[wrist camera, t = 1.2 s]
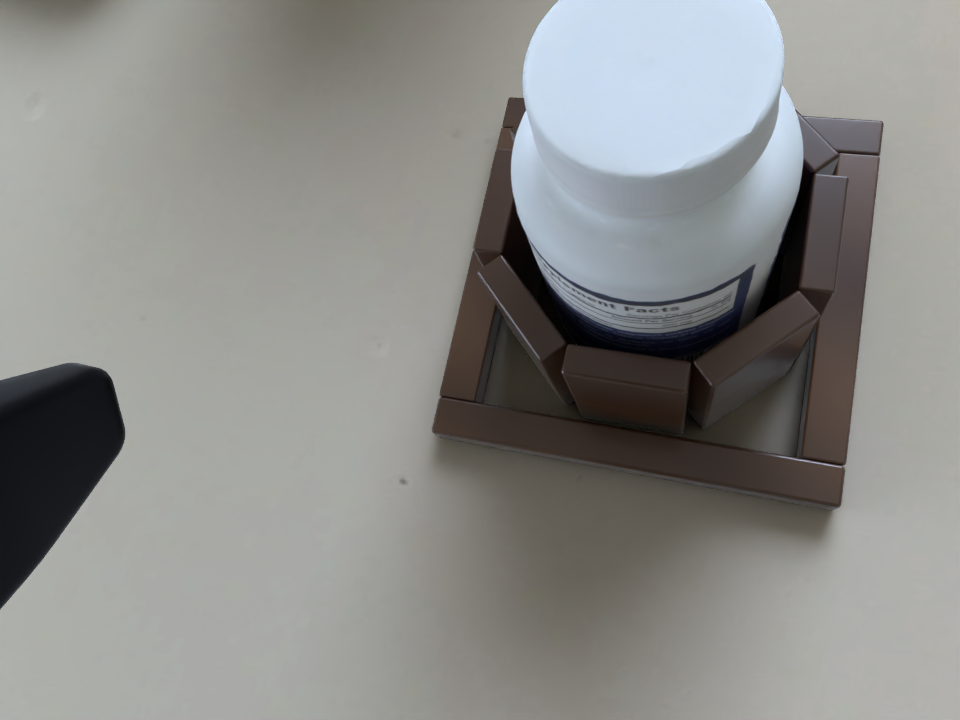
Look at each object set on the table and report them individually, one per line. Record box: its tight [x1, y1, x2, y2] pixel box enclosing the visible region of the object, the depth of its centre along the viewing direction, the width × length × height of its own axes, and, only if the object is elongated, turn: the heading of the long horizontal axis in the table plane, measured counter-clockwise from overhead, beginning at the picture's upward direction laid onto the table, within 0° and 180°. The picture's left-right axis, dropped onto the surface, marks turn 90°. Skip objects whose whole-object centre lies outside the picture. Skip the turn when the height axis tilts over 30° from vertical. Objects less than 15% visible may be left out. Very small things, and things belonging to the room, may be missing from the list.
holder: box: [432, 97, 883, 510], centre depth 19 cm, size 10×10×4 cm
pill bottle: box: [511, 0, 803, 375], centre depth 17 cm, size 5×5×10 cm
